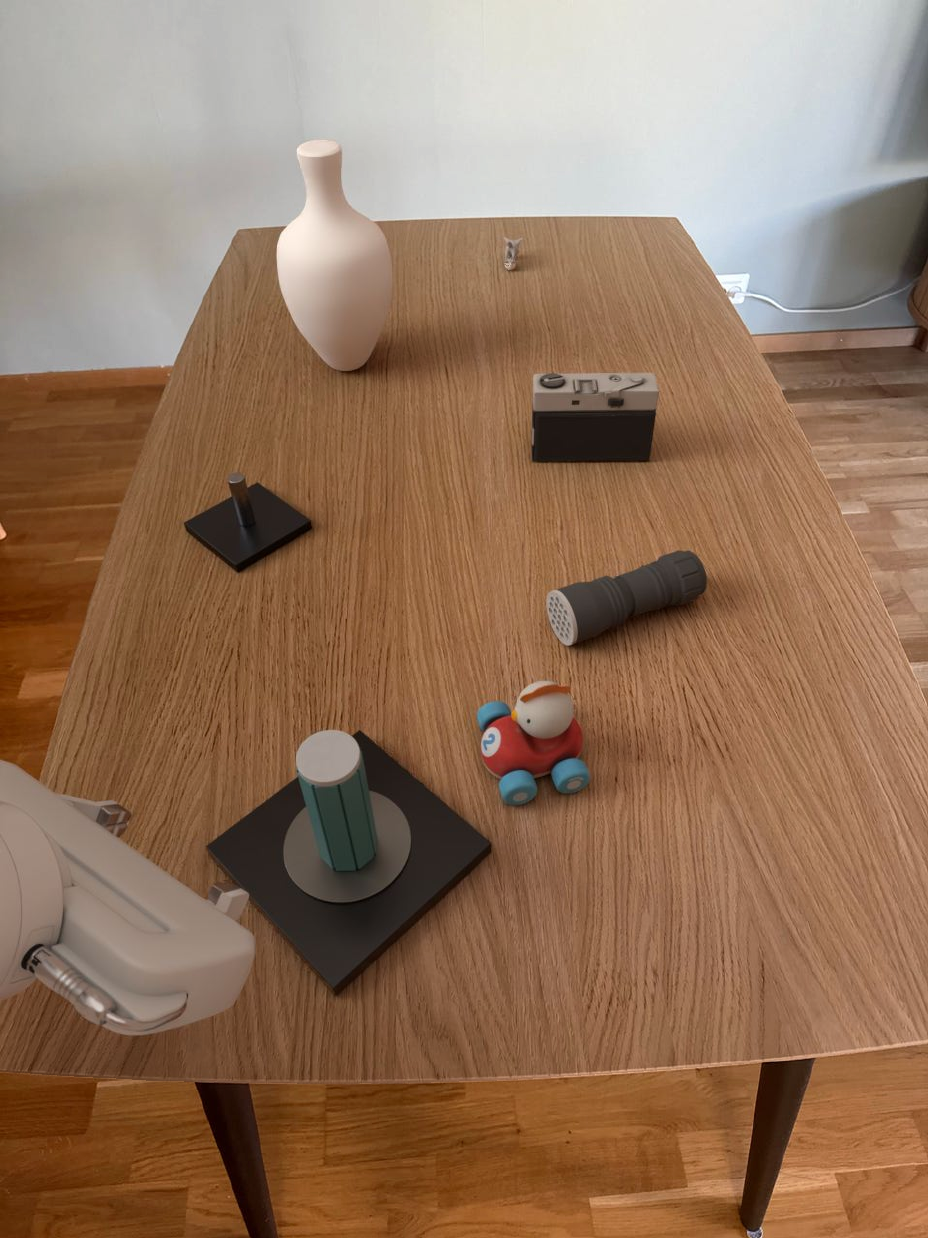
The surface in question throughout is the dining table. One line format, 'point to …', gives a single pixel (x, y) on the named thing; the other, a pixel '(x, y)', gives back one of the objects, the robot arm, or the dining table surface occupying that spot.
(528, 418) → the dining table surface
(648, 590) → the flashlight
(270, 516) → the black peg stand
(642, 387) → the camera
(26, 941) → the robot arm
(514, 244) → the dog figurine
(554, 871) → the dining table surface
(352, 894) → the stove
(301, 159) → the vase
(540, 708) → the toy car
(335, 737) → the teal ribbed pillar
